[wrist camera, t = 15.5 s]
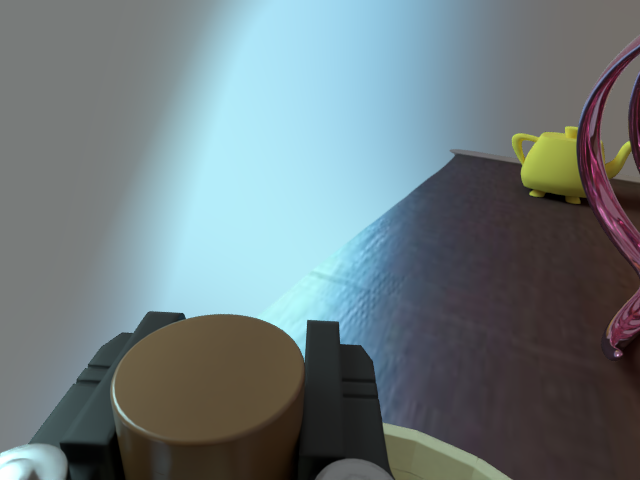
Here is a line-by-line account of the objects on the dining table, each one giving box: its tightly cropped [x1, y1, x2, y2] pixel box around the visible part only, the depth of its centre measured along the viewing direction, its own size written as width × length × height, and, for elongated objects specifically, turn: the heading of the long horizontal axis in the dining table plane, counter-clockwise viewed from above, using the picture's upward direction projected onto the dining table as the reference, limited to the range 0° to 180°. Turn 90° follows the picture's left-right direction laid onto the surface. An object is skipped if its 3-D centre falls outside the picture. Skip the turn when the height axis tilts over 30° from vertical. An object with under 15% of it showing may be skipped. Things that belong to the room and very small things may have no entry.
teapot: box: [512, 126, 632, 204], centre depth 67 cm, size 18×11×11 cm, turn 62°
